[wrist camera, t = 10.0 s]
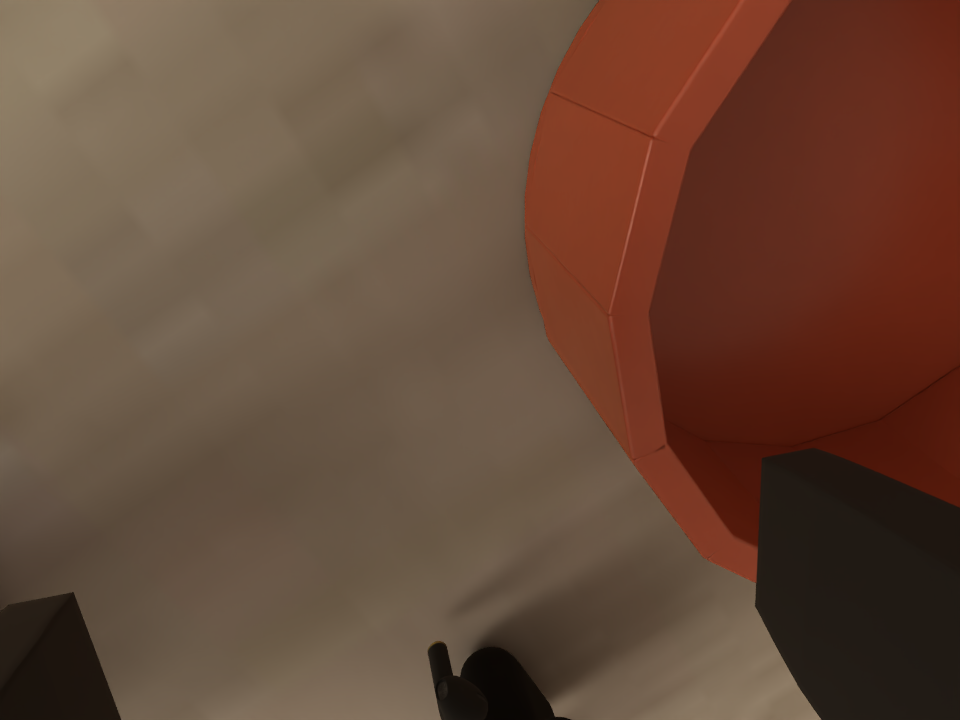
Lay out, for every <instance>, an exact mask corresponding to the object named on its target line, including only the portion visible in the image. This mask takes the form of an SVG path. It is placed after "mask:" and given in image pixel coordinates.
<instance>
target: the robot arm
mask: <svg viewBox="0 0 960 720" xmlns="http://www.w3.org/2000/svg"><path fill="white" fill-rule="evenodd" d="M755 607H756V608H757V610H758V612H759V614H760V616H761V618H762V620H763V622H764V624H765V626H766V628H767V630H768V632H769V633H770V635H771V637H772V639H773V641H774V643H775V645H776V647H777V649H778V651H779V653H780V654H781V656H782V658H783V660H784V661H785V663H786V665H787V667H788V669H789V670H790V672H791V674H792V676H793V677H794V679H795V681H796V683H797V685H798V686H799V688H800V690H801V691H802V692H803V694H804V695H805V697H806V698H807V700H808V701H809V703H810V704H811V705H812V707H813V708H814V710H815V711H816V713H817V714H818V715H819V717H820V718H821V720H960V507H957V506H955V505H953V504H950V503H948V502H946V501H944V500H941V499H939V498H937V497H934V496H932V495H930V494H927V493H925V492H923V491H920V490H918V489H916V488H914V487H911V486H909V485H907V484H904V483H902V482H900V481H897V480H895V479H893V478H890V477H888V476H886V475H883V474H881V473H879V472H876V471H874V470H871V469H869V468H867V467H864V466H862V465H860V464H857V463H855V462H852V461H850V460H847V459H845V458H842V457H839V456H837V455H834V454H831V453H828V452H826V451H823V450H820V449H817V448H809V449H804V450H799V451H794V452H789V453H784V454H778V455H773V456H768V457H763V458H762V464H761V487H760V510H759V532H758V555H757V578H756V601H755ZM0 720H121V718H120V715H119V712H118V710H117V707H116V704H115V702H114V699H113V696H112V694H111V691H110V689H109V686H108V683H107V681H106V678H105V675H104V673H103V670H102V667H101V665H100V662H99V659H98V657H97V654H96V651H95V649H94V646H93V643H92V641H91V638H90V635H89V633H88V630H87V627H86V625H85V622H84V619H83V617H82V614H81V611H80V609H79V606H78V603H77V601H76V598H75V595H74V593H73V592H72V593H67V594H62V595H57V596H52V597H47V598H42V599H37V600H31V601H26V602H21V603H16V604H11V605H8V606H7V607H6V608H5V609H3V610H2V611H1V612H0Z"/></svg>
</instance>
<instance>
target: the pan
mask: <svg viewBox="0 0 960 720" xmlns="http://www.w3.org/2000/svg"><path fill="white" fill-rule="evenodd" d="M525 242H526V250H527V257H528V265H529V272H530V277H531V281H532V285H533V288H534V292H535V295H536V299H537V303H538V306H539V310H540V312H541V315H542V317H543V320H544V325H545V330H546V335H547V337H548V340H549V342H550V343H551V345H552V346H553V348H554V349H555V350H556V352H557V353H558V355H559V356H560V358H561V359H562V361H563V362H564V364H565V365H566V367H567V368H568V369H569V371H570V372H571V374H572V375H573V377H574V378H575V380H576V381H577V383H578V384H579V386H580V387H581V388H582V390H583V391H584V393H585V394H586V396H587V397H588V399H589V400H590V402H591V403H592V404H593V406H594V407H595V409H596V410H597V412H598V413H599V415H600V416H601V418H602V419H603V421H604V422H605V423H606V425H607V426H608V428H609V429H610V431H611V432H612V434H613V435H614V437H615V438H616V440H617V441H618V442H619V444H620V445H621V447H622V448H623V450H624V451H625V453H626V454H627V456H628V457H629V458H630V460H631V461H632V463H633V464H634V466H635V467H636V468H637V470H638V471H639V472H640V474H641V475H642V476H643V478H644V479H645V480H646V482H647V483H648V484H649V486H650V487H651V488H652V490H653V491H654V492H655V494H656V495H657V496H658V498H659V499H660V500H661V502H662V503H663V504H664V506H665V507H666V509H667V510H668V511H669V513H670V514H671V515H672V517H673V518H674V519H675V521H676V522H677V523H678V525H679V526H680V527H681V529H682V530H683V531H684V533H685V534H686V535H687V537H688V538H689V539H690V541H691V542H692V543H693V545H694V546H695V547H696V549H697V550H698V551H699V553H700V554H701V555H702V557H703V558H705V559H707V560H708V561H710V562H712V563H714V564H716V565H719V566H721V567H723V568H725V569H727V570H729V571H731V572H734V573H736V574H738V575H740V576H742V577H744V578H746V579H748V580H751V581H753V582H755V583H756V578H757V555H758V532H759V510H760V487H761V464H762V458H763V457H768V456H773V455H778V454H784V453H789V452H794V451H799V450H804V449H809V448H817V449H820V450H823V451H826V452H828V453H831V454H834V455H837V456H839V457H842V458H845V459H847V460H850V461H852V462H855V463H857V464H860V465H862V466H864V467H867V468H869V469H871V470H874V471H876V472H879V473H881V474H883V475H886V476H888V477H890V478H893V479H895V480H897V481H900V482H902V483H904V484H907V485H909V486H911V487H914V488H916V489H918V490H920V491H923V492H925V493H927V494H930V495H932V496H934V497H937V498H939V499H941V500H944V501H946V502H948V503H950V504H953V505H955V506H957V507H960V0H599V2H598V3H597V4H596V6H595V7H594V9H593V10H592V12H591V13H590V14H589V16H588V17H587V19H586V20H585V22H584V23H583V24H582V26H581V27H580V29H579V31H578V33H577V34H576V36H575V38H574V40H573V42H572V44H571V46H570V48H569V49H568V51H567V53H566V55H565V57H564V59H563V61H562V63H561V64H560V66H559V68H558V70H557V73H556V75H555V78H554V80H553V83H552V86H551V88H550V91H549V93H548V96H547V98H546V101H545V104H544V106H543V109H542V111H541V115H540V119H539V122H538V126H537V130H536V134H535V138H534V142H533V146H532V150H531V154H530V160H529V168H528V176H527V184H526V192H525Z"/></svg>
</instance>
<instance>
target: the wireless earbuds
mask: <svg viewBox="0 0 960 720" xmlns="http://www.w3.org/2000/svg"><path fill="white" fill-rule="evenodd" d="M428 656H429V661H430V666H431V672H432V677H433V682H434V688H435V693H436V698H437V703H438V708H439V713H440V717H441V720H570V719H568V718H564V717H555V716H554V713H553V710H552V708H551V706H550V704H549V702H548V701H547V699H546V698H545V697H544V695H543V694H542V693H541V691H540V690H539V689H538V687H537V686H536V685H535V683H534V682H533V681H532V679H531V678H530V677H529V675H528V674H527V673H526V671H525V670H524V669H523V668H522V666H521V665H520V664H519V662H518V661H517V660H516V658H515V657H514V656H513V655H512V654H510V653H509V652H507V651H505V650H503V649H501V648H496V647H487V648H483V649H480V650H478V651H476V652H475V653H473V654H472V655H471V656H470V657H469V658H468V659H467V660H466V662H465V663H464V665H463V668H462V670H461V675H460V677H458V676H453V673H452V668H451V664H450V659H449V655H448V650H447V646H446V644H445V643H444V642H441V641H436V642H434V643H432V644H431V645H430V646H429V648H428Z"/></svg>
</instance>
